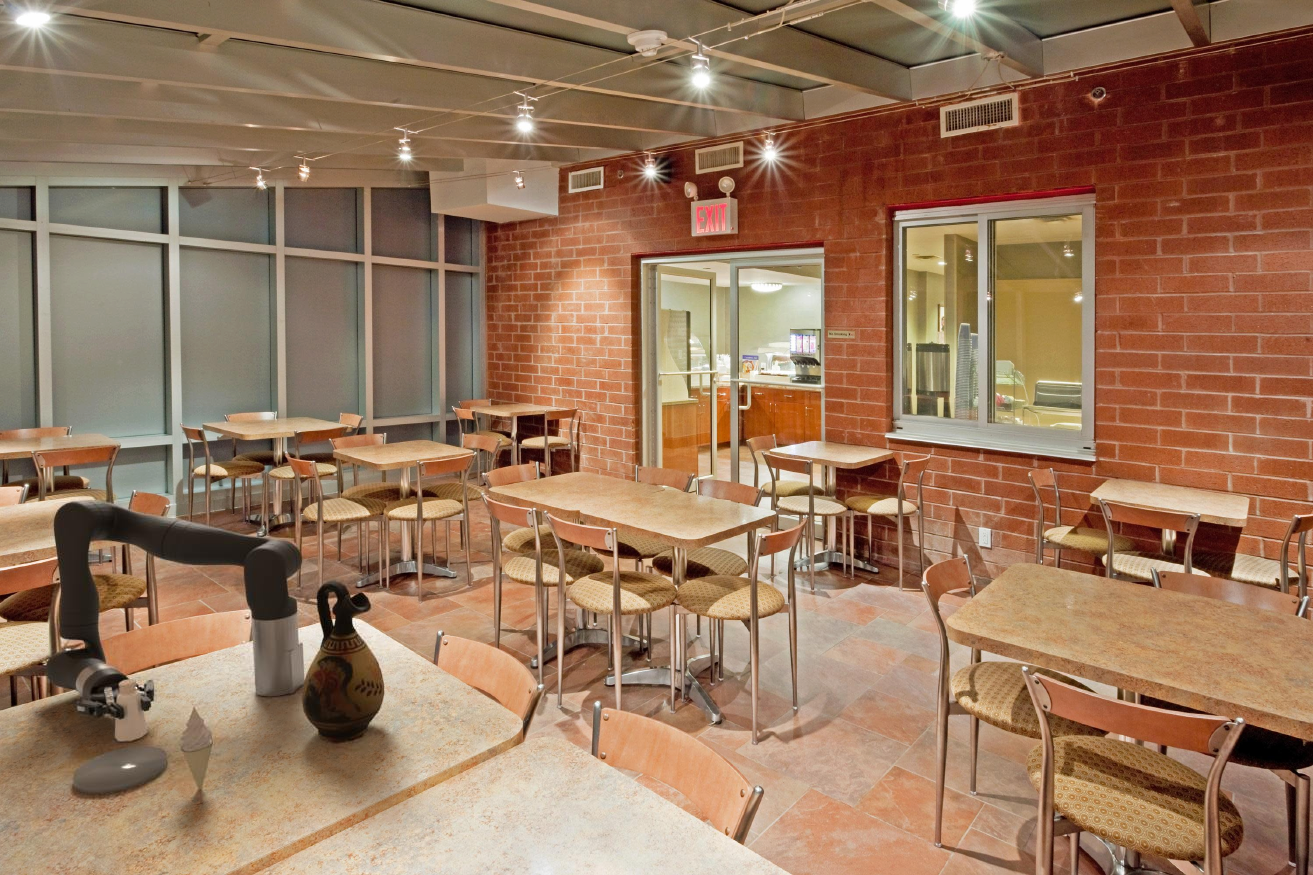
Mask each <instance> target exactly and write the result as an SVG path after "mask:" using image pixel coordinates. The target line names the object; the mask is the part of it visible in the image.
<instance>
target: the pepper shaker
mask: <svg viewBox="0 0 1313 875" xmlns="http://www.w3.org/2000/svg"><path fill="white" fill-rule="evenodd" d="M136 683H137V680H135V679H132V678H129V679H128V680H124V681H122V682H120V683H119V687H120V688H119V689H120V694H119V695H118V696H117V702H116V703H118V704H119V705H120V706H122V707H123V709H124V718H123V719H120V720H119V719H118V718H115V723H114V724H115V725H114V726H115V727H114V730H115V731H114V738H115V739H116V740H117V742H132V741H134V740H137V739H140V738H143V737H144V736H145V735H146V734H147V733H148V728H147V723H146V722H147V721H146V716H145V711H143V710H142V704H141V697H140V693H139V692H138V691H137V690H136V689H135V688H136V685H135V684H136Z"/></svg>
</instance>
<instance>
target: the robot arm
mask: <svg viewBox="0 0 1313 875" xmlns="http://www.w3.org/2000/svg"><path fill="white" fill-rule="evenodd" d="M53 534H54V542H55V550H56V558H57V564H58V565H57V566H58V575H59V581H60V584H59V586H60V606H59V622H58V623H59V625H58V634H59V637H60V638H61V639H64V640H70V641H82V642H83V643H84V647H83V648H74V649H69V650H61V651H57V652H55V653H54V654H52V655H51V656H50V657H49V658H48V660H47V661H46V664H45V675H46V678H47V679H48V680H49V681H50V683H51V684H53V685H54V686H56V687H58V688H62V689H66V690H67V689H68V690H75V691H76V692H77V693H78V694H79V695H80V697H81V698H82V699H79V700H77V701H76V706H77V715H82V716H86V717H91V718H96V719H100V718H103V717H104V715H107V716H109V717H110V716H111V717H112V718H114V719H116V718H118V719H119V720H120V719H123V718H124V709H123V707H122V706H120V705H119V704H118V703H116V702H117V696H118V695H119V694H120V689H119V688H120V687H119V683H120V682H122V681H124V680H128V679H130V678H129V677H128V676H127V675H126V674H124V673H123V672H122V671H120V670H118V669H117V668H115V667H114V666H112V665H110V664H107V661H106V660H107V659H106V655H105V652H104V648H103V646H102V642H101V637H100V636H101V635H100V630H99V629H100V628H99V622H100V619H99V616H100V595H99V591H98V587H97V585H96V582H95V580H94V578H93V575H92V572H91V568H90V564H89V563H90V562H89V551H90V546H91V542H100V541H101V542H102V541H104V542H107V541H108V542H115V543H124V544H128V545H132V546H135V547H137V548H140V550H141V549H142V550H143V551H145V552H147V553H148V554H150V555H152V556H153V557H155V558H159V559H161V560H164V561H167V562H168V561H169V562H173V563H178V564H183V565H188V566H237V567H242V568H243V579H244V580H243V582H244V590H245V597H246V598H245V600H246V604H247V606H248V607H249V610H250V615H251V616H250V617H251V632H252V634H251V636H252V650H253V652H252V654H253V668H254V669H253V670H254V685H255V686H254V687H255V693H256V695H258V696H261V697H278V696H283V695H287V694H288V695H290V694H291V695H292V694H294V693H295V692H296V691H297V690H298V689H299V688H300V687H301V686H303V684H304V681H305V664H304V663H305V662H304V644H303V642H302V641H301V642H300V641H299V620H298V619H299V617H298V602H297V599H296V598H295V597H294V596H291V595H289V588H288V579H290V578H291V577H293V576H294V575H295V574H296V573H297V572H298V571H299V570H300V568H301V567H302V564H303V554H302V553H301V551H300V549H299V548H298V547H297V546H296V545H295V544H293V542H291V541H288V540H286V539H283V538H282V539H281V538H275V537H264V536H256V535H248V534H243V533H239V532H234V531H230V530H227V529H222V528H218V527H215V526H214V527H213V526H209V525H206V524H201V523H197V522H193V521H189V520H184V519H181V518H176V517H175V518H173V517H169V516H164V515H163V516H162V515H158V514H157V515H155V514H148V513H147V514H146V513H143V512H139V511H135V510H133V509H130V508H126V507H123V506H120V505H117V504H115V503H112V502H108V501H106V500H101V499H89V500H88V499H87V500H76V501H75V500H74V501H69V502H66V503H64V504H62V505H61V506H60V507H59V508H58V510H57V511H56V513H55V514H54V518H53ZM135 685H136V688H135V689H136V690H137V691H138V692H139V693H140V697H141V704H142V710H143V712H148V711H150V708H152V702H154V701H155V682H154V679H148V680H146V682H144V683H143V684H140V685H139V684H138V683H137V682H136V684H135Z"/></svg>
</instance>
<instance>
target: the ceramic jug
mask: <svg viewBox="0 0 1313 875" xmlns="http://www.w3.org/2000/svg"><path fill="white" fill-rule="evenodd" d="M346 586H347V585H345V584H344V583H342V582H339V581H336V580H330V581H327V582H326V583H323V584H322V585H321V586H320V587H319V588H318V590H317V592H316V610H317V613H318V618H319V623H320V627H321V630H322V635H323V637H322V640H321V643H320V647H319V650H318V651H317V653H316V654H315V656H314V658H313V660H312V662H311V664H310V665H309V668H308V671H307V672H306V675H305V677H304V680H305V681H304V683H303V684H302V691H301V705H302V711H303V713H304V715H305V716H306V718H307V720H308V721H309V723H310V724H312V726H313V727H314V728H316V729H317V735H318V737H319V738H320V739H321V740H324V741H326V742H329V743H333V744H338V743H339V744H340V743H342V742H348V741H349V742H351V741H353V740H357V739H359V738H362V737H363V735H364V734H365V733H367V732H368V730H369V725H370V723H371V722H372V721H373V719H374V718H375V717H376V715H377V714H378V713H379V711H380V710H381V708H382V705H383V702H384V697H385V683H384V681H385V680H384V678H383V673H382V669H381V667H380V663H379V661H378V660H377V657H376V656H375V655H374V652H372V650H371V649H370V647H369V645H368V644H367V643H366V642H365V640H364V639H363V638H362V636H361V635H360V634H359V633H358V631H357V629H356V628H355V627H354V624H353V623H354V622H353V618H354V617H357V616H358V615H362V614H365V613H368V612H370V611H371V609H372V604H371V602H370V599H369V597H368V596H367V595H366V594H365V593H364V592H362V591H360V592H358V593H356V594H354V595H353V596H352V597H351V594H350V591H349V590H348V588H347V587H346ZM330 593H334V594H335V597H336V602H335V603H334V605H333V606H332V607H331V608H330V603H329V598H330ZM331 611H332V612H331ZM332 614H333V615H334V621H333V618H332Z"/></svg>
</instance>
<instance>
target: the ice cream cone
mask: <svg viewBox="0 0 1313 875" xmlns="http://www.w3.org/2000/svg"><path fill="white" fill-rule="evenodd" d="M185 725H186V727H187V728H186V729H185V730H184V731H182V732H181V733H180V734H182V735H183V736H181V737H180V738H178V739H179V741H180V742H182V743H181V744H179V747H180V749H179V750H180V752H182V754H183V757H184V759H185V761H186V764H187V765H188V769H189V771H190V773H191V775H192V778H193V780H194V782H195V784H196V787H197V789H198V790H199V791H200V790H202V789H203V785H204V781H205V777H206V773H207V770H208V765H209V762H210V757H211V754H212V748H213V745H214V743H215V740H214V739H213V730H212V729H211V728H210V726H207V725H206V724H205V720H204V719H203V717H201V716H200V714H199V713H198V711H197V709H196V707H195V706H193V708H192V711H191V714H190V716H189V718H188V720H187V722H186V724H185Z"/></svg>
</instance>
